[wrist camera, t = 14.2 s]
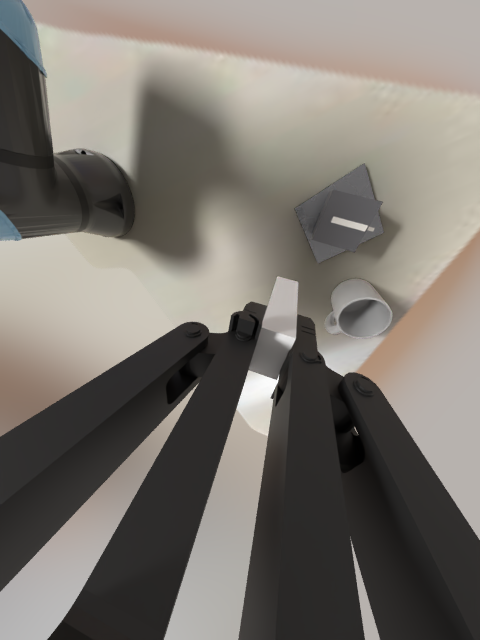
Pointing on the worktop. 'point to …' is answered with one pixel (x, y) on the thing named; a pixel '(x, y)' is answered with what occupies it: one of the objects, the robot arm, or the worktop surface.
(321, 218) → the dark grey cube
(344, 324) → the cup
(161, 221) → the worktop surface
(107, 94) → the worktop surface
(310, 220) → the base plate
